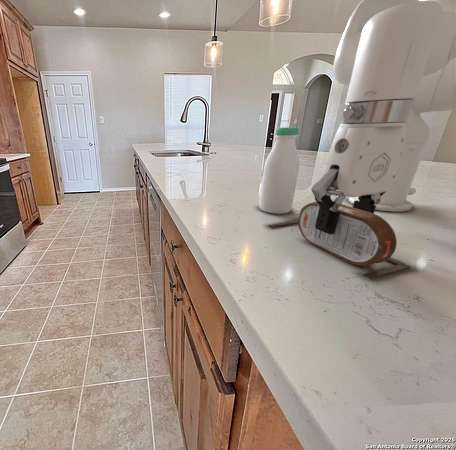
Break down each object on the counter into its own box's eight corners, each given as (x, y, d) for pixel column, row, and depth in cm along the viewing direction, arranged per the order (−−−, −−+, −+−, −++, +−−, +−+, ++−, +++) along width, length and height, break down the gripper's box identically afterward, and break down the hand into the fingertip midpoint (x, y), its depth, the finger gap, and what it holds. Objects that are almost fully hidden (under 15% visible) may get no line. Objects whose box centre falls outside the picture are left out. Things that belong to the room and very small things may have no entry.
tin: (387, 273, 36) (408, 221, 33) (372, 277, 36) (391, 224, 32) (304, 233, 50) (312, 194, 46) (291, 236, 49) (299, 195, 46)
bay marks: (299, 220, 56) (299, 219, 56) (410, 267, 37) (411, 266, 37) (268, 226, 54) (268, 225, 54) (370, 279, 35) (370, 277, 35)
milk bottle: (295, 215, 59) (312, 127, 52) (261, 213, 61) (273, 128, 53) (286, 205, 66) (300, 126, 59) (256, 204, 68) (266, 127, 60)
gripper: (355, 117, 30) (322, 245, 37) (446, 113, 34) (402, 228, 41) (304, 118, 36) (284, 227, 43) (386, 115, 41) (356, 214, 48)
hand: (341, 227), depth 42 cm, fingers open, 7 cm apart
